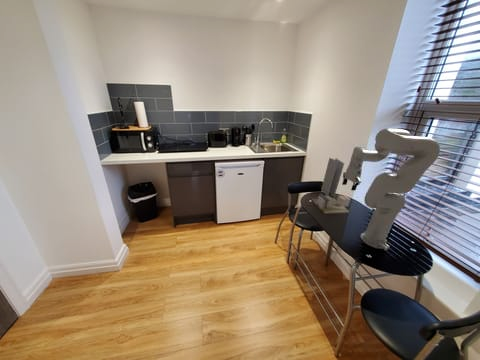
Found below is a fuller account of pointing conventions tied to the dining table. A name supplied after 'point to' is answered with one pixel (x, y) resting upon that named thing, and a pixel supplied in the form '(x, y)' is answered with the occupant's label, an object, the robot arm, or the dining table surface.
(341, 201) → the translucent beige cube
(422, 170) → the robot arm
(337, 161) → the brochure
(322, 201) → the ticket pad
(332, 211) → the ticket board
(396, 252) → the dining table surface
